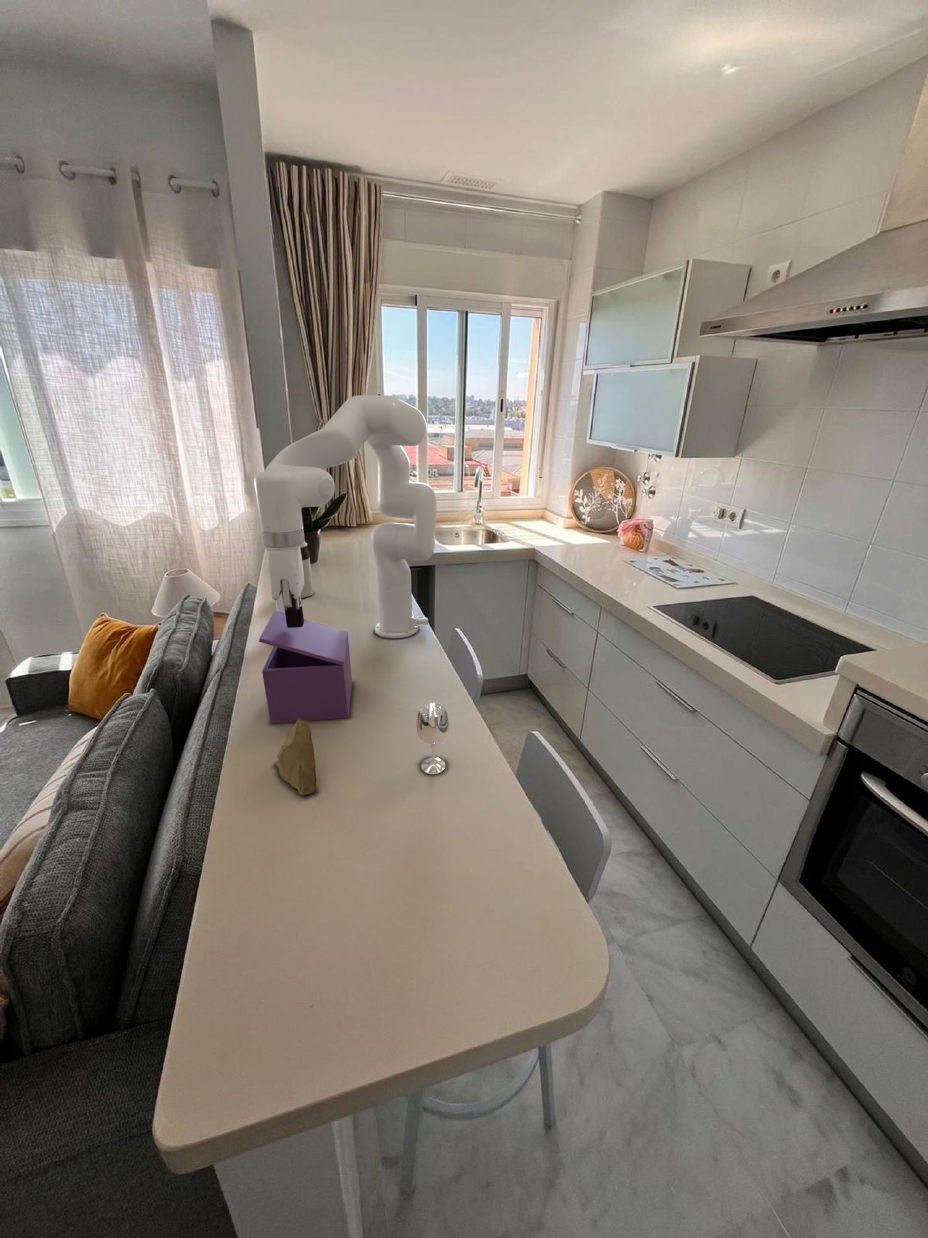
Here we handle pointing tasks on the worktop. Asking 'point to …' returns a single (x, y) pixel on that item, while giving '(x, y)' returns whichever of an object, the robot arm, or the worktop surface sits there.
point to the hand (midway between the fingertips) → (295, 625)
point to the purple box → (306, 687)
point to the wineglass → (432, 733)
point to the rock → (298, 759)
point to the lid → (306, 639)
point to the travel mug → (306, 573)
